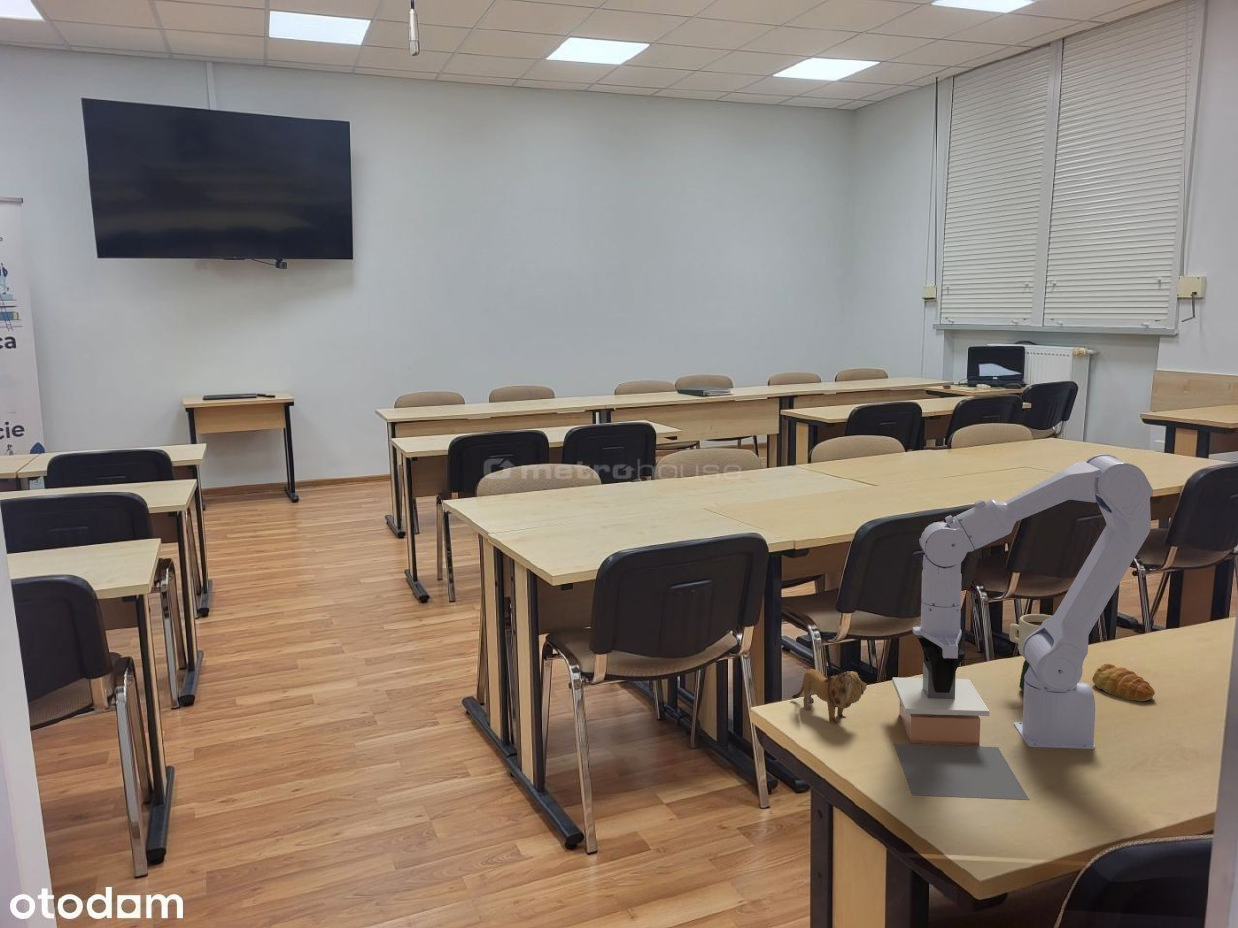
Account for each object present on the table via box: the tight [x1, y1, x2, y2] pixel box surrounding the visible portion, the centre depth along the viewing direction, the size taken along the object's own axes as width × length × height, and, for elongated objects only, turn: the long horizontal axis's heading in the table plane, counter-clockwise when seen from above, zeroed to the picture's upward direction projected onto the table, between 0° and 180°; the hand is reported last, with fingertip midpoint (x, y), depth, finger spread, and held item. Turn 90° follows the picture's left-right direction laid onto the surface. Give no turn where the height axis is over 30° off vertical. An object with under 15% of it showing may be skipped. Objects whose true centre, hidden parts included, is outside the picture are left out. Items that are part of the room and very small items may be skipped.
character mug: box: [1009, 613, 1052, 692], centre depth 151 cm, size 11×7×13 cm, turn 42°
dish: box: [898, 701, 981, 746], centre depth 139 cm, size 10×10×4 cm
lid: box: [891, 660, 990, 717], centre depth 138 cm, size 12×12×5 cm
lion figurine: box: [791, 668, 868, 724], centre depth 146 cm, size 15×5×9 cm, turn 36°
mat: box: [893, 743, 1030, 801], centre depth 127 cm, size 15×15×1 cm
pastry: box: [1091, 663, 1156, 703], centre depth 151 cm, size 9×7×4 cm
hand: (938, 686), depth 138 cm, fingers closed on lid, 4 cm apart
